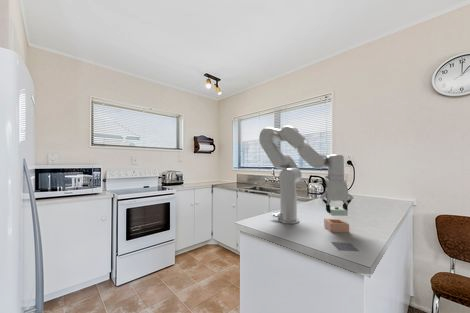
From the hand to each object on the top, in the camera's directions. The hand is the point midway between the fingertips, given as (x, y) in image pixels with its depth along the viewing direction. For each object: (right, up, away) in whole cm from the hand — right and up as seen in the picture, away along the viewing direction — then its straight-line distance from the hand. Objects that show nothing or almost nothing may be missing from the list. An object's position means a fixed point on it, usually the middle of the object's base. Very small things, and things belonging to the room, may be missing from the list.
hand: (336, 212), depth 104 cm
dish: (0, -9, 0) cm, 9 cm away
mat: (-7, -9, -21) cm, 24 cm away
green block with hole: (0, -1, 0) cm, 1 cm away
